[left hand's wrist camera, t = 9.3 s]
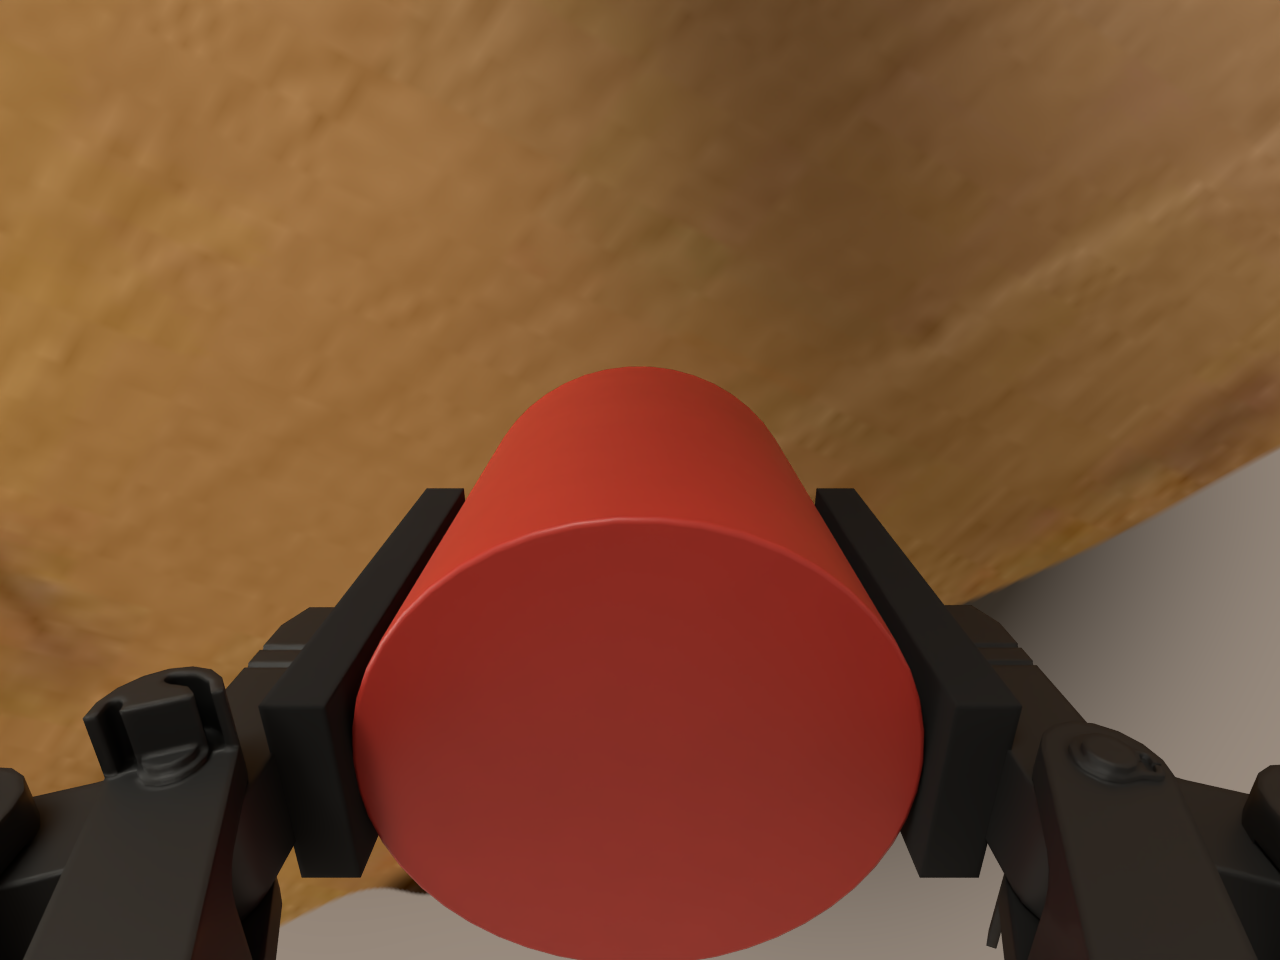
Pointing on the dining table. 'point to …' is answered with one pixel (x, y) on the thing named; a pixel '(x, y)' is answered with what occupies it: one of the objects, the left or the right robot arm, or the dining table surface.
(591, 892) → the cylinder
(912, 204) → the dining table surface
